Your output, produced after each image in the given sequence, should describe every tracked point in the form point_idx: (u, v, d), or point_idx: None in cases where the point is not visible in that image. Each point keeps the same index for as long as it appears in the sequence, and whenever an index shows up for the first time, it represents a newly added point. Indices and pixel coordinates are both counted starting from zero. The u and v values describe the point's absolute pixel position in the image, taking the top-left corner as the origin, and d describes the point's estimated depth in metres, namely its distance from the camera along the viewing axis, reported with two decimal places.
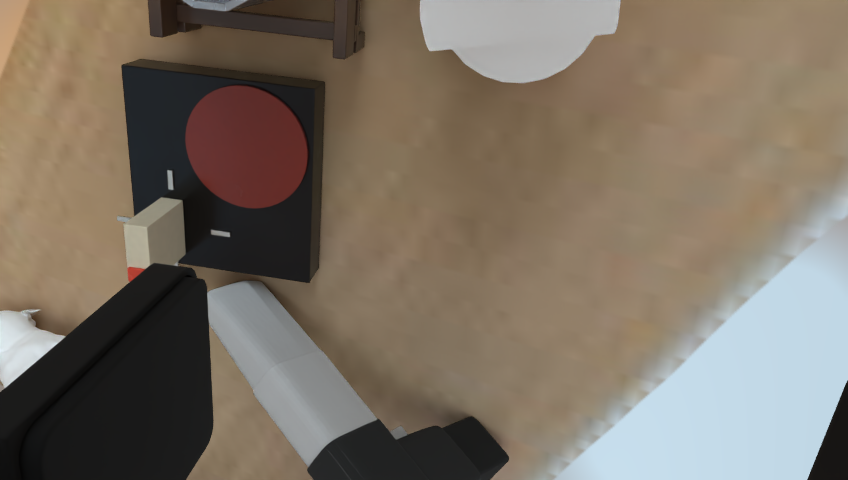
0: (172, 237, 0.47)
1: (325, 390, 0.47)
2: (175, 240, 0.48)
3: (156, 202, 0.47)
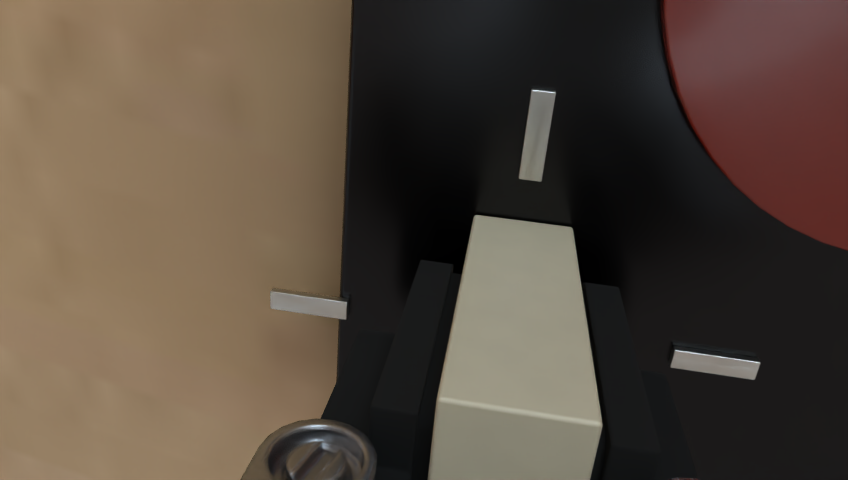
0: None
1: None
2: None
3: (481, 239, 0.10)
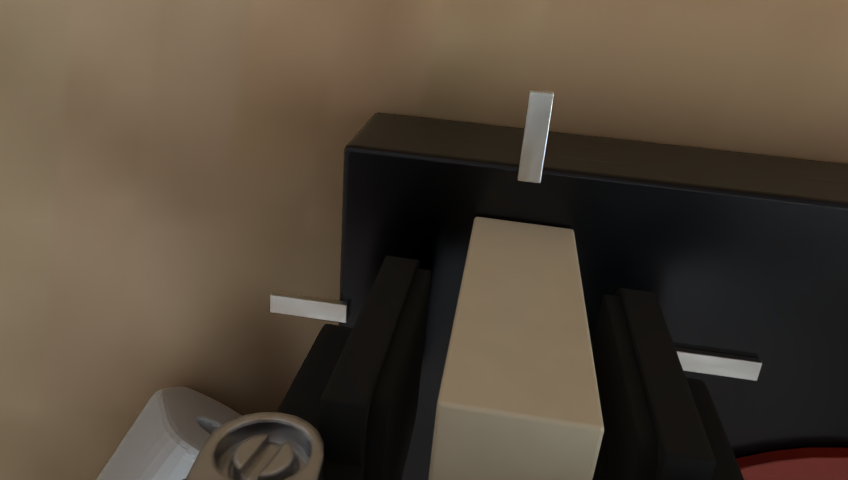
0: None
1: None
2: None
3: (482, 241, 0.10)
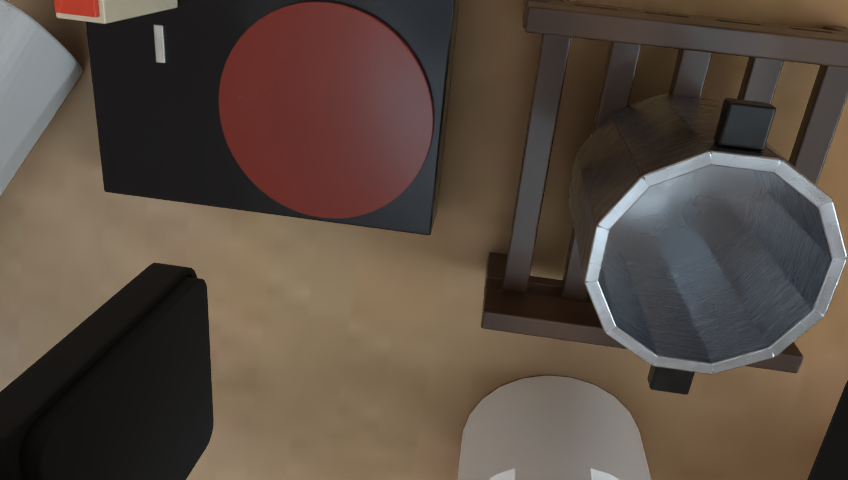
0: None
1: None
2: None
3: None
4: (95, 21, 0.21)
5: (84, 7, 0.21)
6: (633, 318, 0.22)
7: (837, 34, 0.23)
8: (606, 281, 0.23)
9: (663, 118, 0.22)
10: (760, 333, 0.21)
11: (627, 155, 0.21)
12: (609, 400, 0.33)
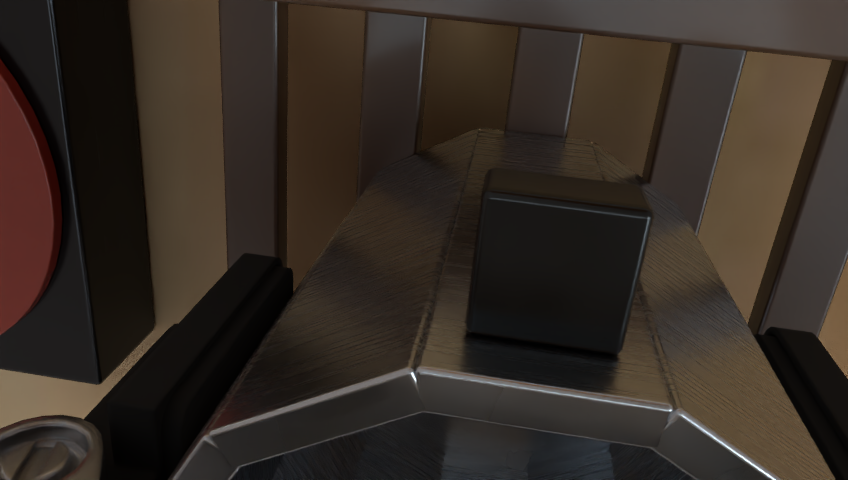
0: None
1: None
2: None
3: None
4: None
5: None
6: None
7: None
8: None
9: (430, 196, 0.09)
10: None
11: (287, 310, 0.07)
12: None
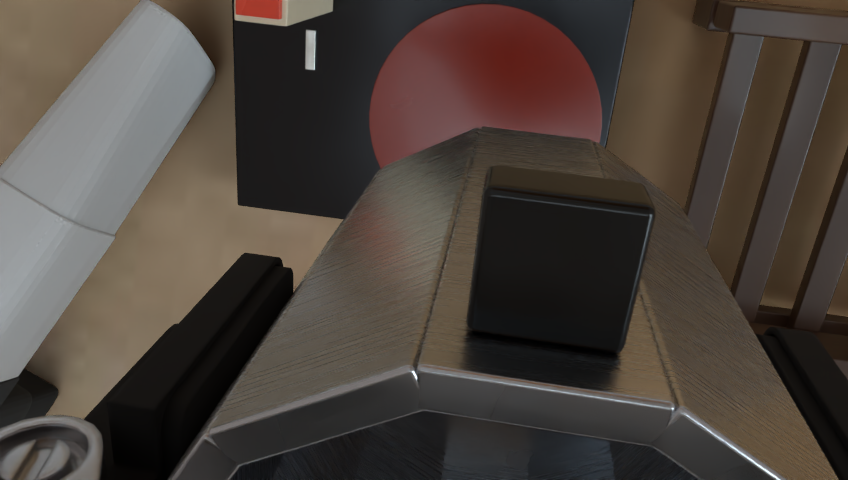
0: None
1: (46, 304, 0.25)
2: None
3: None
4: (276, 23, 0.20)
5: (268, 8, 0.19)
6: None
7: None
8: None
9: (431, 194, 0.09)
10: None
11: None
12: None
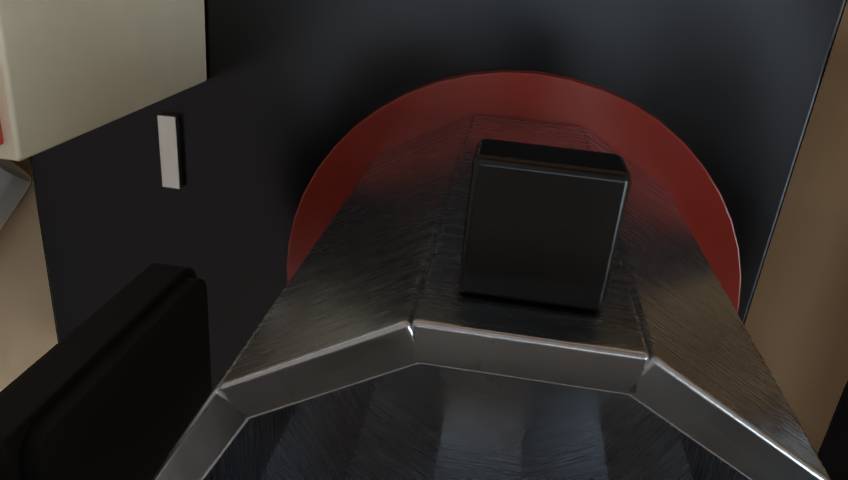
0: None
1: None
2: None
3: None
4: None
5: None
6: None
7: None
8: None
9: (427, 176, 0.09)
10: None
11: None
12: None
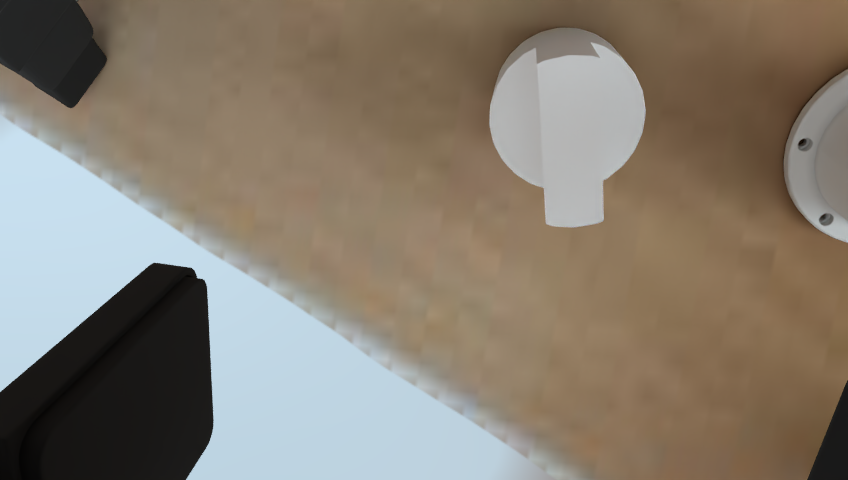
0: None
1: None
2: None
3: None
4: None
5: None
6: None
7: None
8: None
9: None
10: None
11: None
12: (606, 41, 0.44)
